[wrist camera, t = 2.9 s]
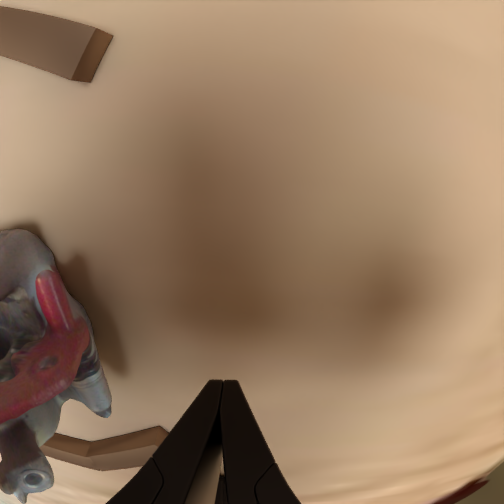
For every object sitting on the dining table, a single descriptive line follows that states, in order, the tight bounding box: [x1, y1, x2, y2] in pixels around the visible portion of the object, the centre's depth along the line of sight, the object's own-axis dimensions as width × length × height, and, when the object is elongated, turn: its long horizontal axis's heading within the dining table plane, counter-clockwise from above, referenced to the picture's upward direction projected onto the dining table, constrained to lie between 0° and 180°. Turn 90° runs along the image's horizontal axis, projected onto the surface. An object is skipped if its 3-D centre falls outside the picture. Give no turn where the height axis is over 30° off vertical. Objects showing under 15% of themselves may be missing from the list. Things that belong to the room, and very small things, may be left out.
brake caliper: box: [0, 229, 112, 504], centre depth 11 cm, size 11×11×12 cm
